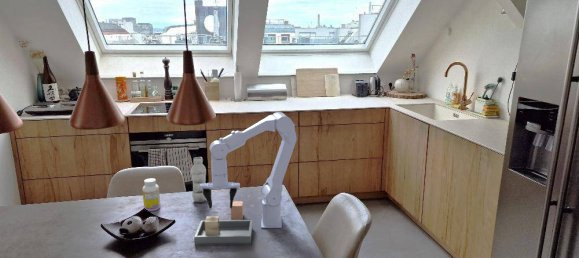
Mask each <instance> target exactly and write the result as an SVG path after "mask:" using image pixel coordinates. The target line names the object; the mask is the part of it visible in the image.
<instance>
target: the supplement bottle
mask: <svg viewBox="0 0 579 258" xmlns="http://www.w3.org/2000/svg"><path fill="white" fill-rule="evenodd" d="M143 181H144V182H143V183H144V185H143V186H142V199H143V208H146V209H147V210H148V211H147V212H154V211H157V210H159V209H160V208H161V196H160V186H159V185H158V184H157V179H156V178H154V177H153V178H152V177H150V178H146V179H144V180H143Z"/></svg>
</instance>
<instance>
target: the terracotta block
mask: <svg viewBox="0 0 579 258" xmlns="http://www.w3.org/2000/svg"><path fill="white" fill-rule="evenodd" d="M230 220H244V201H241V200H239V201H238V200H237V201H236V200H235V201H234V200H233V206H232V208H230Z"/></svg>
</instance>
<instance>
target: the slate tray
mask: <svg viewBox="0 0 579 258" xmlns="http://www.w3.org/2000/svg"><path fill="white" fill-rule="evenodd" d="M205 220H206V219H204V220H200V222H199V224H198V227H197V230H196V232H195V235H194V238H193V239H194V246H195V247H200V246H202V247H203V246H205V247H206V246H207V247H208V246H210V247H212V246H214V247H217V246H219V247H220V246H224V247H225V246H251V245H252V236H253V223H254V222H253V219H242V220H231V219H225V220H224V219H219V230H220V231H219V235H217V236H205Z"/></svg>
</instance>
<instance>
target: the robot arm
mask: <svg viewBox="0 0 579 258" xmlns="http://www.w3.org/2000/svg"><path fill="white" fill-rule="evenodd" d="M295 127H296V125H295V123H294V122H293V120H292V119H291V117H289V116H287V115H286V114H285V113H284V112H281V111H276V112H274V113H273V114H269V115H267V116H266V117H265V118H263V119H261V120H259V121H258V122H256V123H254V124H253V125H251V126H250V127H247V128H246V129H244V130H242V131H240V130H236V131H235V130H232V131H230V134H228V135H226V136H225V137H220V138H219V140H214V141H212V142H211V144H210V145H209V147H208V149H209V151H210V155H211V156H210V159H211V160H210V168H211V169H210V170H211V171H210V172H211V182H207V183H205V184H200V190H203V195H204V196H205V198H206V202H207V204H208V208H209V210H210V209H212V207H213V201H212V200H213V199H212V190H216V191H222V190H229V192H228V193H229V208H230V209H231V208H232V206H233V201H234V199H235V197H236V194H237V191H238V190H240V189H241V185H240V184H241V183H240V182H232V181H231V182H230V181H228V179H229V178H228V161H227V155H228V154H229V153H231V152H233V151H235V150H237V149H239V148H241V147H243V146H244V145H246V142H247V140H249V139H251V138H253V137H255V136H257V135H259V134H261V133H263V132H265V131H269V132H276V131H277V132H278V134H279V135H280V138H281V139H282V140H281V142H280V146H279V148H278V151H277V154H276V157H275V160H274V162H273V166H272V169H271V173H270V174H269V177H268V178H267V179H266V180H265V183H264V184H263V185H262V187H261V189H260V194H261V195H262V196H263V197H262V198H263V199H262V200H261V222H260V223H261V224H260V228H261V229H282V223H283V222H282V217H283V216H282V215H281V214H282V213H281V210H282V207H281V206H282V205H281V202H282V199H283V196H282V193H283V192H282V191H283V188H284V187H283V181H284V178H285V176H286V175H285V174H286V172H287V169H288V166H289V164H290V161H291V157H292V155H293V151H294V150H295V149H294V148H295V146H296V143H297V139H298V138H297V133H296V128H295Z"/></svg>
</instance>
